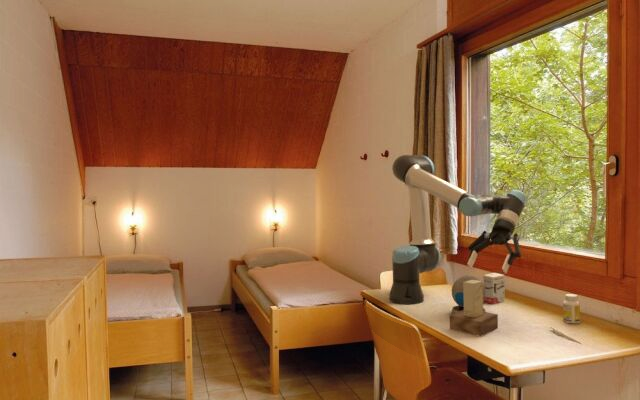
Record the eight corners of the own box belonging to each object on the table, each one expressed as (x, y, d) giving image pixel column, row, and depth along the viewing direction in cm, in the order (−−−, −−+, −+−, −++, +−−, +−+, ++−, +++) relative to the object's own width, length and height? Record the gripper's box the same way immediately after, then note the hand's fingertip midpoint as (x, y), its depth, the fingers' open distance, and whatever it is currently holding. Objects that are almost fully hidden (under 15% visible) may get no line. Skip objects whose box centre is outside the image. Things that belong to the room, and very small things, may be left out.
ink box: (492, 304, 201) (492, 276, 201) (482, 302, 206) (482, 274, 205) (505, 301, 206) (505, 274, 206) (495, 299, 210) (495, 272, 210)
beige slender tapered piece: (546, 330, 167) (547, 325, 166) (553, 329, 167) (553, 324, 167) (578, 347, 152) (578, 341, 152) (585, 346, 153) (585, 340, 152)
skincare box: (474, 318, 166) (474, 283, 166) (463, 315, 169) (462, 281, 169) (483, 314, 170) (483, 280, 170) (472, 312, 174) (471, 279, 173)
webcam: (491, 312, 190) (491, 275, 189) (477, 320, 180) (476, 280, 180) (461, 307, 199) (460, 271, 198) (445, 314, 189) (445, 276, 189)
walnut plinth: (449, 329, 171) (449, 315, 171) (467, 321, 179) (466, 308, 179) (480, 336, 162) (480, 321, 162) (497, 328, 170) (497, 314, 170)
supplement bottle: (578, 319, 177) (578, 293, 177) (581, 324, 172) (581, 297, 172) (562, 318, 179) (562, 293, 179) (564, 323, 174) (564, 296, 174)
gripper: (540, 232, 178) (522, 279, 168) (479, 228, 196) (459, 270, 187) (534, 219, 174) (516, 266, 165) (472, 216, 192) (452, 258, 183)
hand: (486, 268), depth 176 cm, fingers open, 13 cm apart
